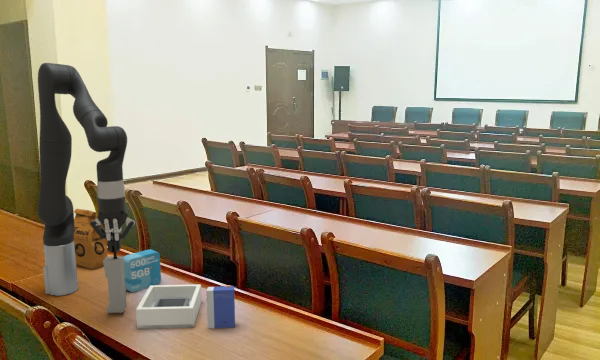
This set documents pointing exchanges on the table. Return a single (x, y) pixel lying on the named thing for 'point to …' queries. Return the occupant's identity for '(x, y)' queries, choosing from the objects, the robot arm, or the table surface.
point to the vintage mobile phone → (115, 282)
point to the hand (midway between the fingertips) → (114, 251)
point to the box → (169, 306)
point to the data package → (142, 270)
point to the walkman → (220, 307)
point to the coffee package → (88, 241)
